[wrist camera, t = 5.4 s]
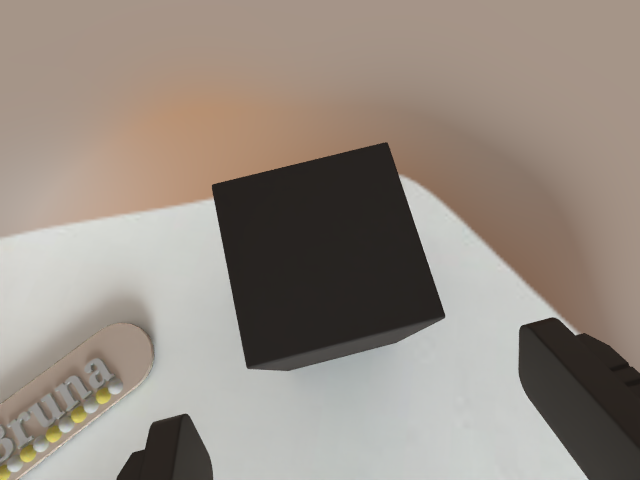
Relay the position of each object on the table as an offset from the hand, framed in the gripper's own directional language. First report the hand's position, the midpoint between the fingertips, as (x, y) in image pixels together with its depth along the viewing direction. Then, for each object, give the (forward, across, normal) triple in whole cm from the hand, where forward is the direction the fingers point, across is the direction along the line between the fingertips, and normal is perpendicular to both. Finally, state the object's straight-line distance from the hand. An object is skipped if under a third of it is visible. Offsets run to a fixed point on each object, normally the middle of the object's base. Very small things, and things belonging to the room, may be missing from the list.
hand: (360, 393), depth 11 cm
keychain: (+8, +13, +5) cm, 16 cm away
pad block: (+9, 0, +4) cm, 10 cm away
